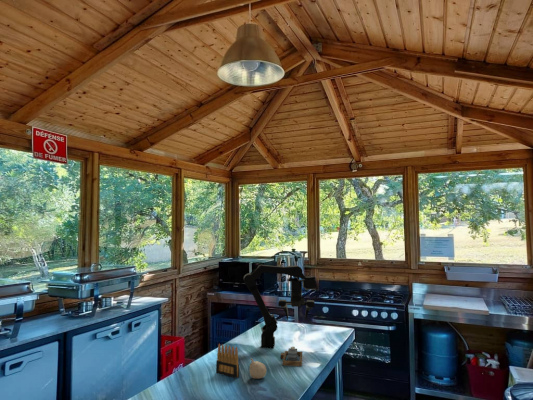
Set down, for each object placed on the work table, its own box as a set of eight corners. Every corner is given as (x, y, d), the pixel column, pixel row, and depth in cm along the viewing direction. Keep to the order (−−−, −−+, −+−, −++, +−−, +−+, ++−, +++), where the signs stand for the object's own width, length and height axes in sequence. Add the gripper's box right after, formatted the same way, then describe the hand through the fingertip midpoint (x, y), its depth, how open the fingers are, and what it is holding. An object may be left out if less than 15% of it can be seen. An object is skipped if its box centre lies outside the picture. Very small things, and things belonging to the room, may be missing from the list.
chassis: (279, 365, 164) (279, 361, 164) (281, 354, 178) (281, 350, 179) (301, 366, 163) (301, 361, 163) (302, 355, 177) (302, 351, 177)
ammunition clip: (239, 376, 151) (239, 346, 152) (236, 378, 149) (236, 347, 150) (218, 371, 156) (218, 342, 158) (215, 373, 155) (216, 343, 156)
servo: (287, 364, 166) (287, 351, 166) (288, 357, 175) (288, 345, 175) (296, 364, 165) (296, 351, 166) (297, 357, 174) (297, 345, 175)
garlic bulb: (255, 374, 154) (255, 354, 155) (268, 377, 151) (268, 356, 151) (246, 379, 148) (246, 358, 149) (260, 382, 145) (260, 361, 146)
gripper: (277, 291, 188) (277, 323, 187) (314, 292, 186) (314, 324, 184) (279, 288, 199) (279, 318, 198) (314, 289, 197) (314, 319, 195)
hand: (296, 320), depth 193 cm, fingers open, 9 cm apart
